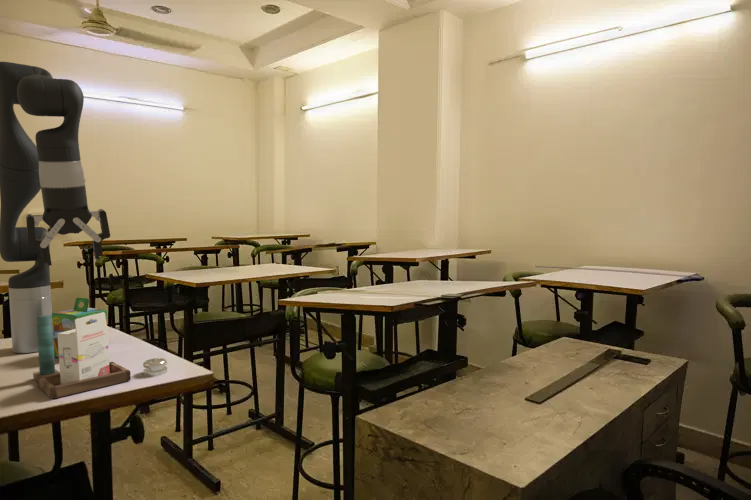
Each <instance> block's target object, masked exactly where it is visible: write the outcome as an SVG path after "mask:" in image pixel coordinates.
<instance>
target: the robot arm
mask: <svg viewBox="0 0 751 500" xmlns="http://www.w3.org/2000/svg"><path fill="white" fill-rule="evenodd" d="M84 98H85V97H84V92H83V90H82V88H81V87H80V86H79V84H78V83H77V82H75V81H74V80H73V79H68V78H53V76H52V74H51V72H49V71H48V70H46V69H45V68H42V67H39V66H37V65H36V66H35V65H28V64H22V63H17V62H10V61H0V257H1V259H2V260H3V261H5V262H7V263H17V262H34V265H32V267H30V268H29V269H26V270H25V271H23V272H20V273H17V274H14V275H12V276H10V277H9V278H8V281H7V283H8V299H9V313H10V317H9V318H10V332H11V349H12V352H13V353H15V354H26V353H27V354H28V353H37V352H38V334H37V317H39V316H46V315H51V316H52V313H53V308H52V307H53V306H52V290H51V289H52V287H51V275H50V274H51V271H50V266H52V259H51V251H50V246H51V245H50V243H51V242H52V241H53V240H54V238H55V237H56V235H57V234H59V235H61V236H65V235H68V234H80V233H81V232H84V233H85V234H86V235H88V236H89V237H90V238H91V239H92V248H93V256H94V259H95V260H100V257H103V254H104V253H103V246H102V242H103V241H104V240H106V239H109V238H111V231H110V226H109V222H108V221H109V220H108V217H107V212H106V211H105V210H104V209H103V208H100V209H98V210H93V211H91V210H90V209H89V205H88V197H87V190H86V188H87V187H86V178H85V173H84V169H83V166H82V162H81V161H82V160H81V154H80V143H79V131H80V130H79V129H80V124H81V123H80V122H81V117H82V116H81V115H82V113H83V108H84V101H85V100H84ZM14 105H19V106H20V108H21V109H22V111H24V112H25V114H26V115H27V114H28V115H30V116H34V117H55V118H59V117H63V121H62V123H61V124H60V125H59V126H56V127H52V128H46V129H41V130H39V131H37V132H36V133H35V135H34V136H35V143H34V141H33V140H32V139H31V137H30V136H29V135H28V133H26V131H25V129H24V127H22V125H21V123H20V121H19V120H18V118H17V115H16V112H15V109H14ZM40 191H41V197H42V202H43V203H42V205H43V214H39V215H38V214H36V215H35V214H31V213H28V214H26V215H25V216H26V217H25V219H26V220H25V222H26V226H18V227H17V223H18V221H19V219H20V216H21V214H22V213H23V211H24V210H25V208H26V207H27V206H28V205H29V204H30V202H32V200H33V199H34V198H35V197H36V196H37V194H38V193H40ZM92 217H93V218H94V219H95V220H96V221H97V222H99V224H100V230H101V232H100V233H96V231H94V230H93V228H91V227H90V226H89V225H88V223H89V222H90V221H91V219H92ZM42 221H43V222H44V223H45V224H46V225H47V226H48V229H46V227H43V226H40V223H41V222H42ZM38 353H39V352H38Z"/></svg>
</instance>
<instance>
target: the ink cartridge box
mask: <svg viewBox="0 0 751 500" xmlns="http://www.w3.org/2000/svg"><path fill="white" fill-rule="evenodd" d="M90 319H91V320H96V323H92V324H89V325H86V322H88V321H89V320H90ZM75 328H76V329H73V330H69V331H66V332H62V333H58V334H57V336H58V351H59V357H58V361H59V364H58V365H59V372H60V380H61V384H66V383H70V382H74V381H80V380H83V379H88V378H92V377H97V376H101V375H106V374H110V368H109V362H110V351H109V336H108V335H109V334H108V324H107V325H106V317H105V313H104V312H102V313H99V314H94V315H90V316H86V317H82V318H78V319H75ZM61 384H60V385H61Z"/></svg>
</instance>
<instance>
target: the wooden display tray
mask: <svg viewBox="0 0 751 500" xmlns="http://www.w3.org/2000/svg"><path fill="white" fill-rule="evenodd" d="M37 334H38V366H39V367H38V368H39V371H34V372H32V377H33V380H35V381H37V387H38V388H39V389H40V390H41V391H42V392H43V393H45V394H46V395H47V396H48V397H49V398H50V399H57V398H61V397H66V396H69V395H70V396H71V395H74V394H79V393H83V392H87V391H91V390H96V389H98V388H103V387H107V386H113V385H116V384H120V383H124V382H128V381H132V380H131V370H129V369H127V368H125V367H123V366H122V365H120V364H117V363H116V362H114V361H109V368H110V374H106V375H101V376H97V377H92V378H88V379H83V380H80V381H74V382H70V383H66V384H61V380H60V371H59V370H58V369H56V367H55V366H56V365H55V364H56V363H55V357H54V343H53V324H52V316H51V315H46V316H39V317H37Z"/></svg>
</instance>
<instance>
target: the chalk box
mask: <svg viewBox="0 0 751 500" xmlns="http://www.w3.org/2000/svg"><path fill="white" fill-rule="evenodd" d="M74 302H75V303H74V305H73V309H69V310H62V311H61V310H60V311H55V312H52V324H53V343H54V358H59V351H58V336H57V334H58V333H62V332H66V331H69V330H73V329H76V328H75V319H78V318H82V317H86V316H90V315H94V314H99V313H102V312H104V313H105V317H106V325H107V326H108V311H107V310H106V309H103V308H95V307H89V303H90V298H88V297H76V298H75V301H74ZM80 303H83V306H82V307H80ZM92 323H96V320H91V319H90V320H89V321H88V322H86V325H89V324H92Z"/></svg>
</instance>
